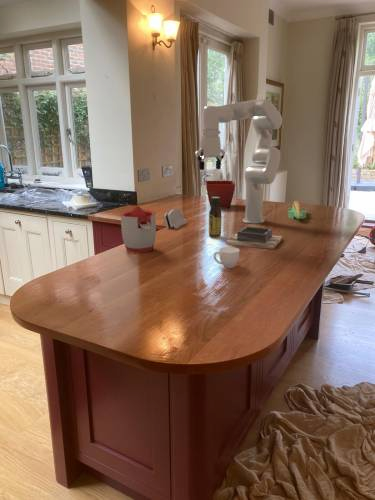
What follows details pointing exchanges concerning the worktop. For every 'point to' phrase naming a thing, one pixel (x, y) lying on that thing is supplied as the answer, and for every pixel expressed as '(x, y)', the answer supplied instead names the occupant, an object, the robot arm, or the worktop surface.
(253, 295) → the worktop surface
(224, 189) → the plant pot
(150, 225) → the citrus juicer
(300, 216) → the toy spaceship
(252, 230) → the bottle dock
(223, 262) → the cup
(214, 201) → the sauce bottle
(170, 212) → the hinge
